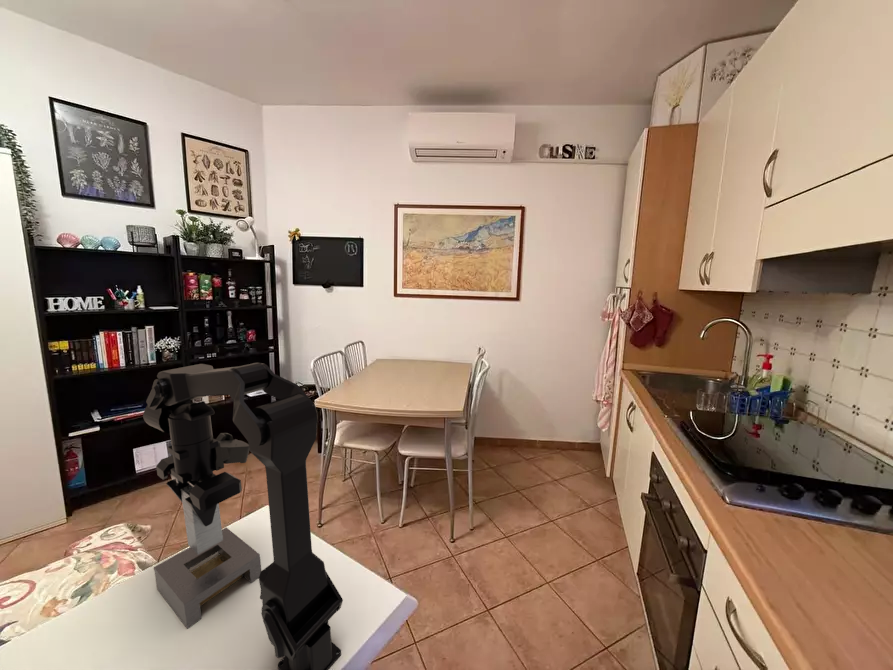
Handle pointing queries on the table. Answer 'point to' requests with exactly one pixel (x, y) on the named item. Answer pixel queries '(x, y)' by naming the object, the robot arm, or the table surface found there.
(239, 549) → the slotted bridge-shaped block
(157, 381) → the robot arm
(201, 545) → the tall square pillar
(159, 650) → the table surface
